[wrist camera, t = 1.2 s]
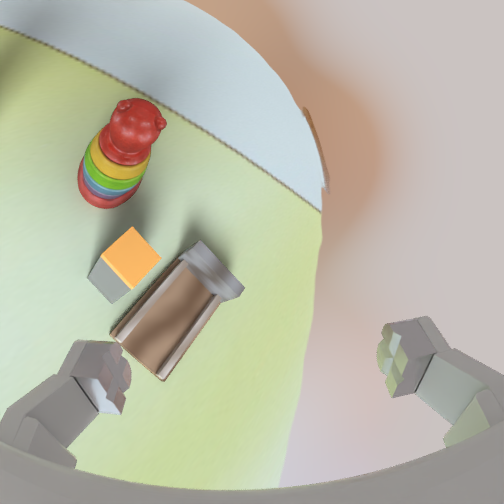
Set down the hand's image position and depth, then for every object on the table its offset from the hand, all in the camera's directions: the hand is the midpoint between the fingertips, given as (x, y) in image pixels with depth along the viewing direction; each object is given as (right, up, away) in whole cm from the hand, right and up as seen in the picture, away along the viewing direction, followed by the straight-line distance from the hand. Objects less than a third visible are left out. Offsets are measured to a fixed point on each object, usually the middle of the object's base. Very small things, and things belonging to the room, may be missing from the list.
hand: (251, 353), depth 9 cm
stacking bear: (-23, +14, +34) cm, 44 cm away
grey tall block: (-20, -1, +31) cm, 37 cm away
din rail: (-12, -6, +35) cm, 38 cm away
